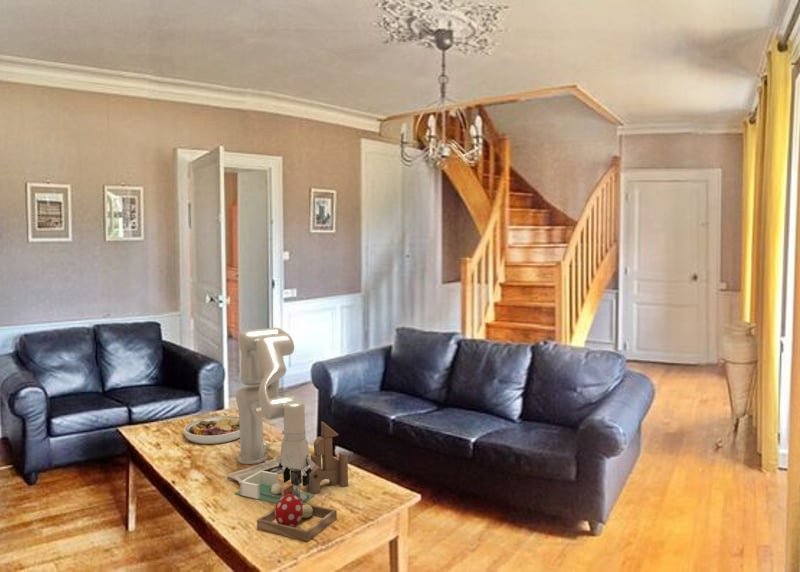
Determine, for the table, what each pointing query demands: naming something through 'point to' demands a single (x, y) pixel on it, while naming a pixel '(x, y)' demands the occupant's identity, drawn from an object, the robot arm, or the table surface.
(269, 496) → the rail
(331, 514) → the display tray
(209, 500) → the table surface
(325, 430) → the wooden toy
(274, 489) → the ball
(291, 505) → the decorative mushroom
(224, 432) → the bowl
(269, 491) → the green railed board
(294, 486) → the knobbed pusher
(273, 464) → the newspaper
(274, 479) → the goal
